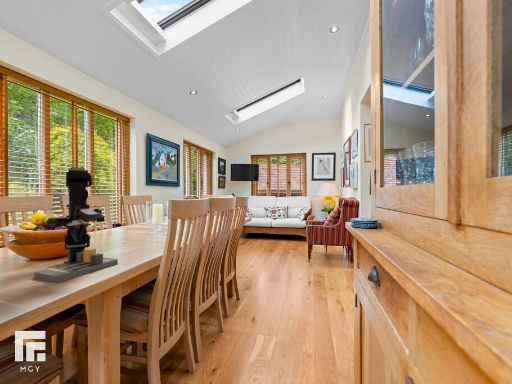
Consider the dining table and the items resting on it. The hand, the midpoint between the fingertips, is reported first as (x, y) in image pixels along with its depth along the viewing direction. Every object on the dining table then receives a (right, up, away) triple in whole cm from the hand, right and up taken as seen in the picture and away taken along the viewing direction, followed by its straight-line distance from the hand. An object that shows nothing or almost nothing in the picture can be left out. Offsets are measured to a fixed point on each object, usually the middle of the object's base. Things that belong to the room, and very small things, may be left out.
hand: (77, 242), depth 98 cm
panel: (0, -11, +1) cm, 11 cm away
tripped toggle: (+2, -9, +5) cm, 10 cm away
